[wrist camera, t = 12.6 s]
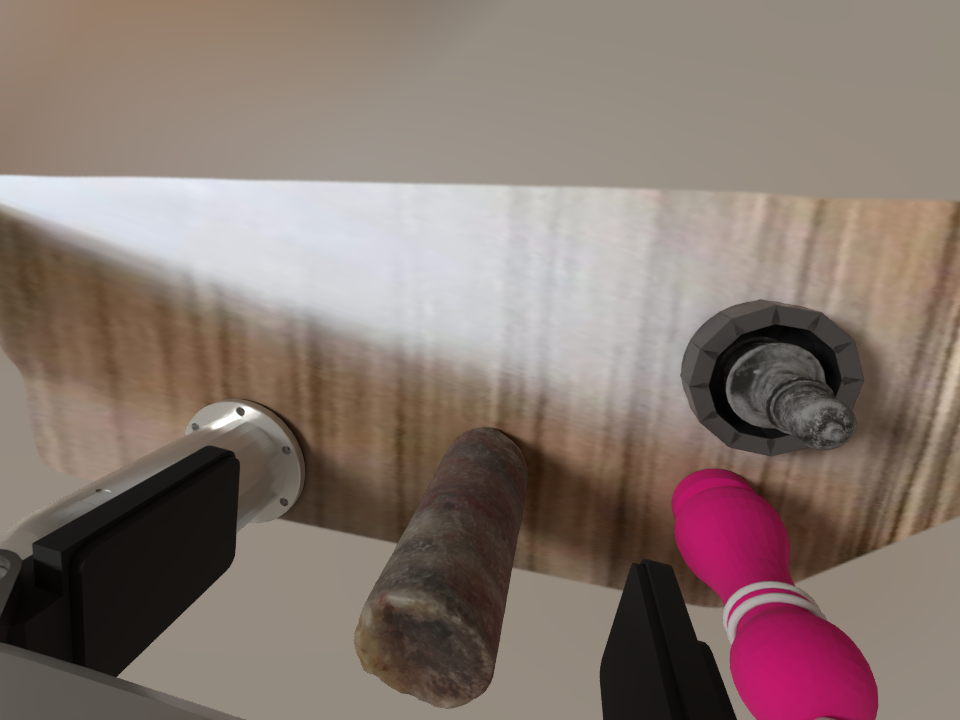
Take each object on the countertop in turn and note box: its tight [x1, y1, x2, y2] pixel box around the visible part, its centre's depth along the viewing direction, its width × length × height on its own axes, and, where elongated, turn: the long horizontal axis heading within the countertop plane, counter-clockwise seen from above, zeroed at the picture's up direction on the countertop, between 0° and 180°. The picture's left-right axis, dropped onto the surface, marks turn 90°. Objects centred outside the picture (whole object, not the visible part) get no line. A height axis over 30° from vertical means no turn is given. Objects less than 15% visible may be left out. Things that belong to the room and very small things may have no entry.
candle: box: [354, 427, 528, 709], centre depth 32 cm, size 8×7×20 cm
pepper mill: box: [672, 469, 878, 720], centre depth 29 cm, size 7×7×20 cm
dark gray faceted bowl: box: [680, 299, 864, 456], centre depth 33 cm, size 10×10×4 cm
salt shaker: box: [717, 337, 857, 450], centre depth 29 cm, size 6×6×12 cm
